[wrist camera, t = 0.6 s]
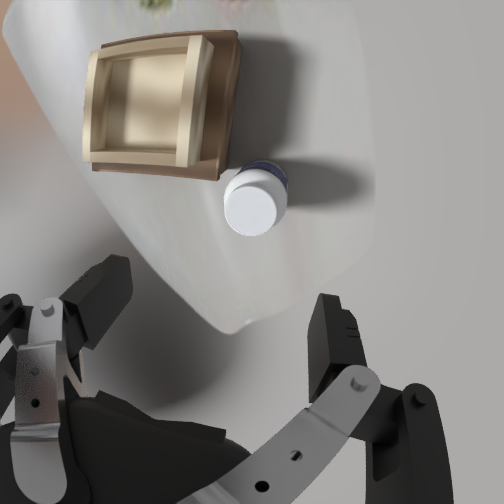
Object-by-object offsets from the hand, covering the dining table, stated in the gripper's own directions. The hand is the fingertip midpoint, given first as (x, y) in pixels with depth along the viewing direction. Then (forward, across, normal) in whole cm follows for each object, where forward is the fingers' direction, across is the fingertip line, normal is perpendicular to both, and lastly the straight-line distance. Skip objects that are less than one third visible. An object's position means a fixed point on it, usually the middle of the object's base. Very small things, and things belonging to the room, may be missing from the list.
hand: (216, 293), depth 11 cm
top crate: (+15, +11, -8) cm, 20 cm away
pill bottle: (+20, 0, 0) cm, 20 cm away
